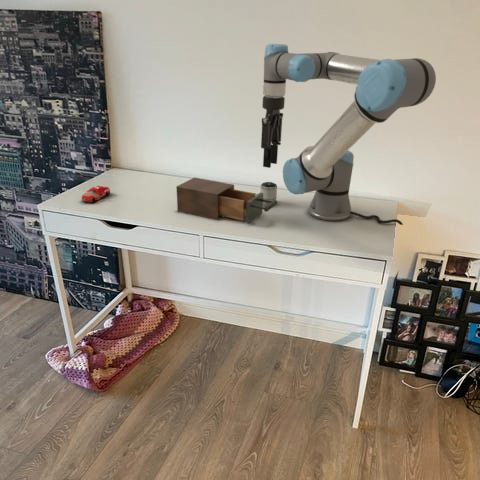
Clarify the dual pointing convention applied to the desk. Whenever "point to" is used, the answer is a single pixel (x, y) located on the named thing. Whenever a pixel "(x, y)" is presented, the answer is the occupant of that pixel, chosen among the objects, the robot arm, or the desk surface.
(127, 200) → the desk surface
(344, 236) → the desk surface
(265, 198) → the camera lens
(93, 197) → the race car
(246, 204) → the drawer
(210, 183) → the cabinet
